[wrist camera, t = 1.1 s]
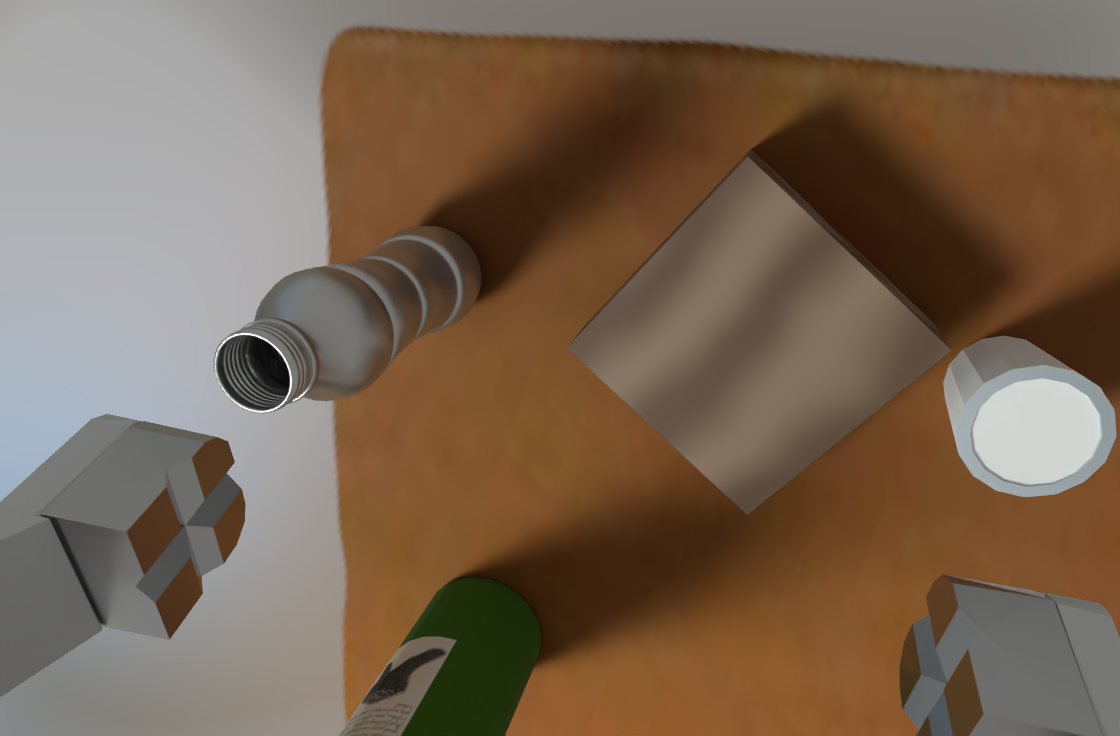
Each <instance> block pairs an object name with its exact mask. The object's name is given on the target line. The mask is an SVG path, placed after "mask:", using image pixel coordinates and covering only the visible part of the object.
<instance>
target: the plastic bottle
mask: <svg viewBox="0 0 1120 736" xmlns="http://www.w3.org/2000/svg"><path fill="white" fill-rule="evenodd" d="M481 280H482V279H481V269H480V265H479V261H478V259H477V257H476V255H475V253H474V251H473V250H472V248H471V247H470V246H469V244H468V243H467V242H466V241H465V240H464V239H463V238H462V237H460V236H459V235H457V234H456V233H454V232H452V231H450V230H448V229H445V228H442V227H437V226H413V227H409V228H405V229H403V230H400V231H398V232H396V233H395V234H394V235H392V236H391V237H390V238H388V239H387V240H386V241H384V242H383V243H382V244H381V245H380V246H379V247H378V248H377V249H376V250H374V251H373V252H371V253H370V254H368V255H366V256H365V257H363V258H360V259H357V260H353V261H350V262H347V263H344V264H337V265H330V266H322V267H315V268H310V269H306V270H302V271H298V272H295V273H292V274H290V275H288V276H286V277H284V278H283V279H281V280H280V281H279V282H278V283H276V284H275V286H274V287H273V288H272V289H271V290H270V291H269V292H268V293H267V295H266V296H265V297H264V298H263V300H262V301H261V303H260V305H259V307H258V309H257V312H256V317H255V321H254V322H251V323H249V324H247V325H246V326H244V327H243V328H242V329H241V330H239V331H237V332H235V333H232V334H230V335H229V336H228V337H227V338H225V339H224V340H223V341H222V342H221V343H220V344H219V346H218V348H217V350H216V352H215V357H214V371H215V376H216V379H217V381H218V384H219V385H220V387H221V389H222V391H223V392H224V393H225V394H226V396H227V397H228V398H229V399H230V400H231V401H232V402H234V403H235V404H236V405H238V406H240V407H241V408H243V409H245V410H248V411H251V412H255V413H268V412H272V411H276V410H278V409H281V408H282V407H284V406H285V405H287V404H289V403H292V402H295V401H298V400H299V399H301V398H302V397H304V398H308V399H312V400H317V401H330V400H337V399H343V398H349V397H351V396H354V395H357V394H359V393H361V392H362V391H364V390H365V389H367V388H368V387H369V386H370V385H371V384H373V383H374V382H375V381H376V380H377V379H378V378H379V377H380V376H381V375H382V374H383V372H384V371H385V370H386V369H387V367H388V366H389V365H390V364H391V362H392V361H393V360H394V359H395V358H396V356H397V355H398V354H399V353H400V352H401V351H402V350H404V349H405V348H406V347H407V346H408V345H409V344H410V343H412V342H413V341H414V340H416V339H418V338H420V337H422V336H424V335H426V334H428V333H434V332H437V331H440V330H442V329H445V328H447V327H450V326H452V325H454V324H456V323H457V322H459V321H460V320H462V319H463V318H464V317H465V315H466V314H467V313H468V312H469V310H470V309H471V307H472V306H473V304H474V302H475V301H476V299H477V297H478V294H479V291H480V288H481Z"/></svg>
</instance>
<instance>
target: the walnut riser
mask: <svg viewBox="0 0 1120 736" xmlns="http://www.w3.org/2000/svg"><path fill="white" fill-rule="evenodd" d="M567 348H568V349H569V350H570V351H571V352H572V353H573V354H574V355H575V356H576V357H577V358H578V359H579V360H581V361H582V362H583V363H584V364H585V365H586V366H587V367H588V368H589V369H590V370H591V371H592V372H593V373H595V374H596V375H597V376H598V377H599V378H600V379H601V380H602V381H603V382H604V383H605V384H606V385H607V386H609V387H610V388H611V389H612V390H613V391H614V392H615V393H616V394H617V395H618V396H619V397H620V398H621V399H623V400H624V401H625V402H626V403H627V404H628V405H629V406H630V407H631V408H632V409H633V410H634V411H635V412H637V413H638V414H639V415H640V416H641V417H642V418H643V419H644V420H645V421H646V422H647V423H648V424H650V425H651V426H652V427H653V428H654V429H655V430H656V431H657V432H658V433H659V434H660V435H661V436H662V437H664V438H665V439H666V440H667V441H668V442H669V443H670V444H671V445H672V446H673V447H674V448H675V449H676V450H678V451H679V452H680V453H681V454H682V455H683V456H684V457H685V458H686V459H687V460H688V461H689V462H690V463H692V464H693V465H694V466H695V467H696V468H697V469H698V470H699V471H700V472H701V473H702V474H703V475H705V476H706V477H707V478H708V479H709V480H710V481H711V482H712V483H713V484H714V485H715V486H716V487H717V488H719V489H720V490H721V491H722V492H723V493H724V494H725V495H726V496H727V497H728V498H729V499H730V500H731V501H733V502H734V503H735V504H736V505H737V506H738V507H739V508H740V509H741V510H742V511H743V512H744V513H745V514H747V515H748V514H749V513H750V512H752V511H753V510H754V509H755V508H757V507H758V506H759V505H760V504H761V503H763V502H764V501H765V500H766V499H768V498H769V497H770V496H771V495H773V494H774V493H775V492H776V491H778V490H779V489H780V488H781V487H783V486H784V485H785V484H786V483H788V482H789V481H790V480H791V479H793V478H794V477H795V476H796V475H798V474H799V473H800V472H801V471H803V470H804V469H805V468H806V467H808V466H809V465H810V464H811V463H812V462H814V461H815V460H816V459H817V458H819V457H820V456H821V455H822V454H824V453H825V452H826V451H827V450H829V449H830V448H831V447H832V446H834V445H835V444H836V443H837V442H839V441H840V440H841V439H842V438H844V437H845V436H846V435H847V434H849V433H850V432H851V431H852V430H854V429H855V428H856V427H857V426H858V425H860V424H861V423H862V422H863V421H865V420H866V419H867V418H868V417H870V416H871V415H872V414H873V413H875V412H876V411H877V410H878V409H880V408H881V407H882V406H883V405H885V404H886V403H887V402H888V401H890V400H891V399H892V398H893V397H895V396H896V395H897V394H898V393H900V392H901V391H902V390H903V389H905V388H906V387H907V386H908V385H909V384H911V383H912V382H913V381H914V380H916V379H917V378H918V377H919V376H921V375H922V374H923V373H924V372H926V371H927V370H928V369H929V368H931V367H932V366H933V365H934V364H936V363H937V362H938V361H939V360H941V359H942V358H943V357H944V356H946V355H947V354H948V353H949V352H951V351H952V350H951V348H950V347H949V345H948V344H947V342H946V341H945V339H944V337H943V336H942V334H941V333H940V331H939V330H938V328H937V327H936V325H935V324H934V322H932V321H931V320H930V319H929V318H928V317H927V316H926V315H925V314H924V313H923V312H922V311H921V310H920V309H919V308H918V307H917V306H916V305H915V304H914V303H912V302H911V301H910V300H909V299H908V298H907V297H906V296H905V295H904V294H903V293H902V292H901V291H900V290H899V289H898V288H897V287H896V286H895V285H894V284H892V283H891V282H890V281H889V280H888V279H887V278H886V277H885V276H884V275H883V274H882V273H881V272H880V271H879V270H878V269H877V268H876V267H875V266H874V265H873V264H871V263H870V262H869V261H868V260H867V259H866V258H865V257H864V256H863V255H862V254H861V253H860V252H859V251H858V250H857V249H856V248H855V247H854V246H853V245H851V244H850V243H849V242H848V241H847V240H846V239H845V238H844V237H843V236H842V235H841V234H840V233H839V232H838V231H837V230H836V229H835V228H834V227H833V226H831V225H830V224H829V223H828V222H827V221H826V220H825V219H824V218H823V217H822V216H821V215H820V214H819V213H818V212H817V211H816V210H815V209H814V208H813V207H812V206H810V205H809V204H808V203H807V202H806V201H805V200H804V199H803V198H802V197H801V196H800V195H799V194H798V193H797V192H796V191H795V190H794V189H793V188H792V187H790V186H789V185H788V184H787V183H786V182H785V181H784V180H783V179H782V178H781V177H780V176H779V175H778V174H777V173H776V172H775V171H774V170H773V169H772V168H770V167H769V166H768V165H767V164H766V163H765V162H764V161H763V160H762V159H761V158H760V157H759V156H758V155H757V154H756V153H755V152H754V151H753V150H752V149H751V150H750V151H749V152H748V153H747V154H746V155H745V156H744V157H743V158H742V159H741V161H740V162H739V163H738V164H737V165H736V166H735V167H734V168H733V169H732V170H731V171H730V172H729V173H728V174H727V175H726V176H725V177H724V179H723V180H722V181H721V182H720V183H719V184H718V185H717V186H716V187H715V188H714V189H713V190H712V191H711V192H710V193H709V194H708V195H707V197H706V198H705V199H704V200H703V201H702V202H701V203H700V204H699V205H698V206H697V207H696V208H695V209H694V210H693V211H692V212H691V213H690V215H689V216H688V217H687V218H686V219H685V220H684V221H683V222H682V223H681V224H680V225H679V226H678V227H677V228H676V229H675V230H674V231H673V233H672V234H671V235H670V236H669V237H668V238H667V239H666V240H665V241H664V242H663V243H662V244H661V245H660V246H659V247H658V248H657V249H656V251H655V252H654V253H653V254H652V255H651V256H650V257H649V258H648V259H647V260H646V261H645V262H644V263H643V264H642V265H641V266H640V267H639V268H638V270H637V271H636V272H635V273H634V274H633V275H632V276H631V277H630V278H629V279H628V280H627V281H626V282H625V283H624V284H623V285H622V286H621V288H620V289H619V290H618V291H617V292H616V293H615V294H614V295H613V296H612V297H611V298H610V299H609V300H608V301H607V302H606V303H605V304H604V306H603V307H602V308H601V309H600V310H599V311H598V312H597V313H596V314H595V315H594V316H593V317H592V318H591V319H590V320H589V321H588V322H587V324H586V325H585V326H584V327H583V328H582V330H581V331H580V332H579V333H578V335H577V336H576V337H575V338H574V339H573V341H572V342H571V343H570V344H569V346H568V347H567Z"/></svg>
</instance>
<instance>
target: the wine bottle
mask: <svg viewBox="0 0 1120 736" xmlns="http://www.w3.org/2000/svg"><path fill="white" fill-rule="evenodd" d="M540 651H541V631H540V627H539V623H538V619H537V617H536V615H535V614H534V612H533V610H532V608H531V606H530V605H529V604H528V603H527V602H526V601H525V600H524V599H523V597H522V596H521V595H519V594H518V593H517V592H515V591H514V590H513V589H511V588H510V587H508V586H506V585H504V584H502V583H500V582H497V581H495V580H492V579H487V578H482V577H466V578H462V579H459V580H456V581H453V582H451V583H449V584H448V585H446V586H445V587H443V588H442V589H440V590H439V591H438V592H437V593H436V595H435V596H434V597H433V599H432V600H431V602H430V603H429V604H428V606H427V607H426V609H425V610H424V612H423V613H422V615H421V616H420V618H419V619H418V621H417V622H416V624H415V625H414V627H413V628H412V629H411V631H410V632H409V634H408V635H407V637H406V638H405V640H404V641H403V643H402V644H401V646H400V647H399V649H398V650H397V651H396V653H395V654H394V655H393V657H392V658H391V659H390V661H389V662H388V664H387V665H386V667H385V668H384V670H383V671H382V673H381V674H380V676H379V677H378V679H377V680H376V681H375V683H374V684H373V686H372V687H371V689H370V690H369V692H368V693H367V695H366V696H365V698H364V699H363V701H362V702H361V704H360V705H359V706H358V708H357V709H356V711H355V712H354V714H353V715H352V717H351V718H350V720H349V721H348V723H347V724H346V726H345V727H344V729H343V730H342V731H341V733H340V735H339V736H505V734H506V731H507V729H508V727H509V724H510V722H511V720H512V717H513V715H514V713H515V710H516V708H517V706H518V703H519V701H520V698H521V696H522V694H523V691H524V689H525V687H526V684H527V682H528V680H529V677H530V675H531V673H532V670H533V668H534V666H535V663H536V661H537V658H538V656H539V653H540Z"/></svg>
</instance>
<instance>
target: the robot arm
mask: <svg viewBox="0 0 1120 736" xmlns="http://www.w3.org/2000/svg"><path fill="white" fill-rule="evenodd" d="M233 464H234V459H233V456H232V452H231V449H230V446H229V443H228V441H225V440H223V439H220V438H218V437H214V436H209V435H205V434H199V433H195V432H190V431H186V430H182V429H177V428H173V427H168V426H163V425H159V424H154V423H150V422H145V421H143V422H142V421H137V420H133V419H128V418H123V417H119V416H114V415H110V414H105V415H103V416H99V417H96V418H94V419H91V420H90V421H89V422H88V423H87V424H86V425H85V426H84V427H82V428H81V429H80V430H79V431H78V432H77V433H76V434H75V435H74V436H73V437H71V438H70V439H69V440H68V441H67V442H66V443H65V444H64V445H63V446H62V447H60V448H59V449H58V450H57V451H56V452H55V453H54V454H53V455H52V456H51V457H49V459H47V460H46V461H45V462H44V463H43V464H42V465H41V466H40V467H38V468H37V469H36V470H35V471H34V472H33V473H32V474H31V475H30V476H29V477H28V478H26V479H25V480H24V481H23V482H22V483H21V484H20V485H19V486H18V487H17V488H16V489H15V490H13V491H12V492H11V493H10V494H9V495H8V496H7V497H6V498H4V499H3V500H2V501H1V502H0V697H1V696H3V695H4V694H6V693H7V692H9V691H10V690H12V689H13V688H15V687H16V686H18V685H19V684H21V683H23V682H24V681H26V680H27V679H28V678H30V677H32V676H33V675H35V674H36V673H38V672H39V671H41V670H42V669H44V668H45V667H47V666H49V665H50V664H51V663H53V662H55V661H56V660H58V659H59V658H61V657H62V656H64V655H65V654H67V653H68V652H70V651H71V650H73V649H74V648H76V647H77V646H79V645H81V644H82V643H84V642H85V641H87V640H88V639H90V638H91V637H93V636H94V635H96V634H97V633H99V632H100V631H102V627H101V626H105V627H110V628H115V629H120V630H125V631H130V632H135V633H139V634H144V635H149V636H154V637H160V638H165V639H170V638H171V637H172V635H173V634H174V633H175V631H176V630H177V628H178V627H179V626H180V624H181V623H182V621H183V620H184V619H185V617H186V616H187V614H188V613H189V612H190V610H191V609H192V607H193V606H194V605H195V603H196V602H197V601H198V599H199V598H200V596H201V595H202V594H203V591H202V577H201V576H202V575H204V574H206V573H207V572H209V571H211V570H213V569H215V568H217V567H219V566H220V565H222V564H224V563H225V561H226V560H227V558H228V557H229V555H230V554H231V552H232V550H233V549H234V548H235V546H236V545H237V542H238V539H239V537H240V534H241V530H242V528H243V525H244V522H245V501H244V497H243V492H242V489H241V488H240V487H239V486H238V485H237V484H236V483H235V482H234V480H233V479H232V478H231V477H230V476H229V475H228V474H227V472H228V470H229V469H230V468H231V466H232V465H233ZM926 599H927V605H928V610H929V615H928V616H926V617H924V618H922V619H920V620H918V621H916V622H914V623H912V626H911V628H910V630H909V632H908V635H907V637H906V639H905V641H904V645H903V651H902V656H901V662H900V693H901V700H902V708H903V710H904V712H905V713H906V714H907V715H908V717H909V718H910V719H911V720H912V722H913V723H914V724H915V726H916V727H917V728H918V729H919V732H918V733H917V735H916V736H1120V637H1119V634H1118V632H1117V630H1116V627H1115V625H1114V623H1113V620H1112V618H1111V616H1110V613H1109V612H1108V611H1107V610H1106V609H1105V608H1104V607H1103V606H1102V605H1101V604H1100V603H1097V602H1091V601H1086V600H1080V599H1075V598H1069V597H1064V596H1059V595H1053V594H1048V593H1045V594H1042V593H1040V592H1038V591H1032V590H1027V589H1021V588H1016V587H1010V586H1005V585H999V584H993V583H988V582H982V581H977V580H971V579H966V578H960V577H954V576H949V575H941V576H940V577H939V578H938V579H936V580H935V581H934V583H933V584H932V586H931V588H930V590H929V592H928V594H927V596H926Z"/></svg>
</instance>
